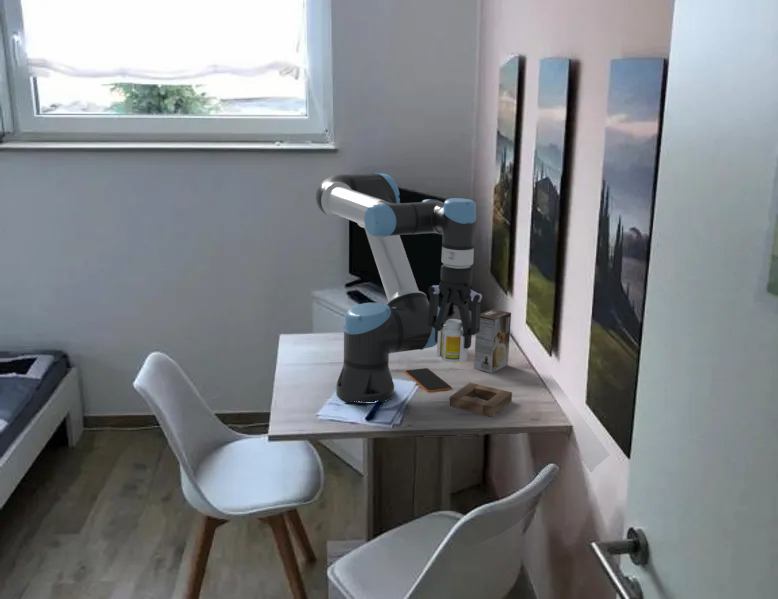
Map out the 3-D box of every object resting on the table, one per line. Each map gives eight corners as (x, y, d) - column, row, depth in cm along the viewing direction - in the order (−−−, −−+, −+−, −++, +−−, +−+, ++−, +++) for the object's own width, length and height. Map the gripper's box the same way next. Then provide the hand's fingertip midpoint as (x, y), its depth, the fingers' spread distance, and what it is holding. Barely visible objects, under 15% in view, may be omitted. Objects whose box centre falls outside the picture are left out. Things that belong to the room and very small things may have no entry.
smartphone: (427, 370, 241) (427, 367, 240) (453, 390, 226) (453, 387, 225) (403, 372, 238) (403, 369, 237) (427, 394, 223) (427, 391, 223)
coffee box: (489, 360, 249) (492, 308, 245) (508, 365, 245) (512, 312, 241) (472, 368, 242) (476, 314, 238) (492, 373, 238) (495, 319, 234)
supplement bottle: (436, 357, 206) (438, 320, 204) (452, 353, 209) (454, 316, 207) (451, 364, 202) (453, 325, 200) (467, 359, 205) (469, 322, 203)
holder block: (449, 405, 215) (449, 396, 214) (469, 391, 225) (469, 382, 224) (492, 416, 209) (493, 407, 208) (511, 401, 219) (512, 392, 218)
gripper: (415, 261, 201) (411, 354, 207) (485, 273, 192) (479, 369, 198) (430, 256, 207) (425, 346, 213) (499, 267, 198) (492, 361, 204)
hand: (451, 357), depth 206 cm, fingers closed on supplement bottle, 5 cm apart
